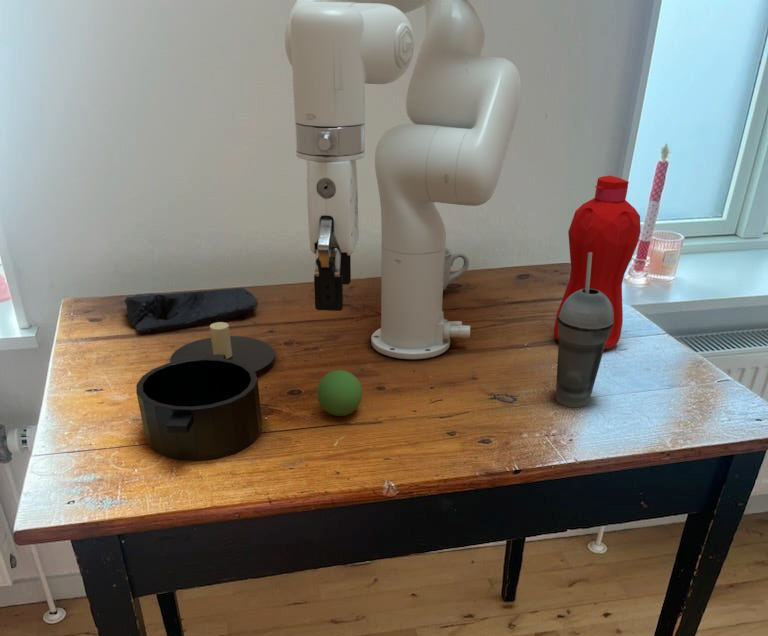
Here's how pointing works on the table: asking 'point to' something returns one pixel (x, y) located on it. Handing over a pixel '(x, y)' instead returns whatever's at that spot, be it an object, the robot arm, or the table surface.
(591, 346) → the beverage cup
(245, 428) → the pan
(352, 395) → the ball
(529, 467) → the table surface
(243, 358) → the lid
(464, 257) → the teacup
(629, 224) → the water bottle
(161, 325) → the dark slate chunk
